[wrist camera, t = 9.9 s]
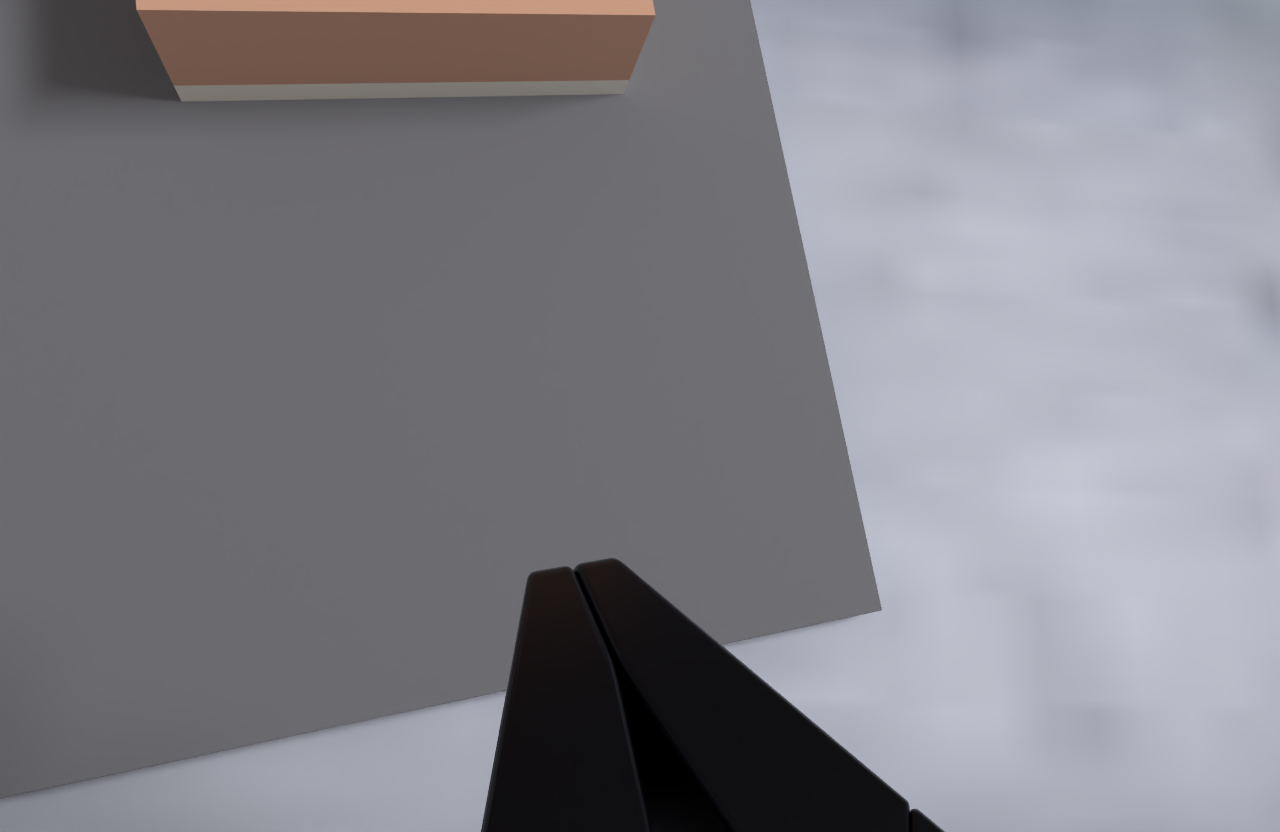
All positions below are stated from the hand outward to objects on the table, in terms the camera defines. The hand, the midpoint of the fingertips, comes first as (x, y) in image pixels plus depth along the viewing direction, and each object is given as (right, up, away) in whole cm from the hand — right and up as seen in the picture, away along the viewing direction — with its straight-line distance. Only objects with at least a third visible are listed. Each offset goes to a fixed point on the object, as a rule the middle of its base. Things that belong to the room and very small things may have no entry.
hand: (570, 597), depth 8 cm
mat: (-4, +7, +12) cm, 15 cm away
